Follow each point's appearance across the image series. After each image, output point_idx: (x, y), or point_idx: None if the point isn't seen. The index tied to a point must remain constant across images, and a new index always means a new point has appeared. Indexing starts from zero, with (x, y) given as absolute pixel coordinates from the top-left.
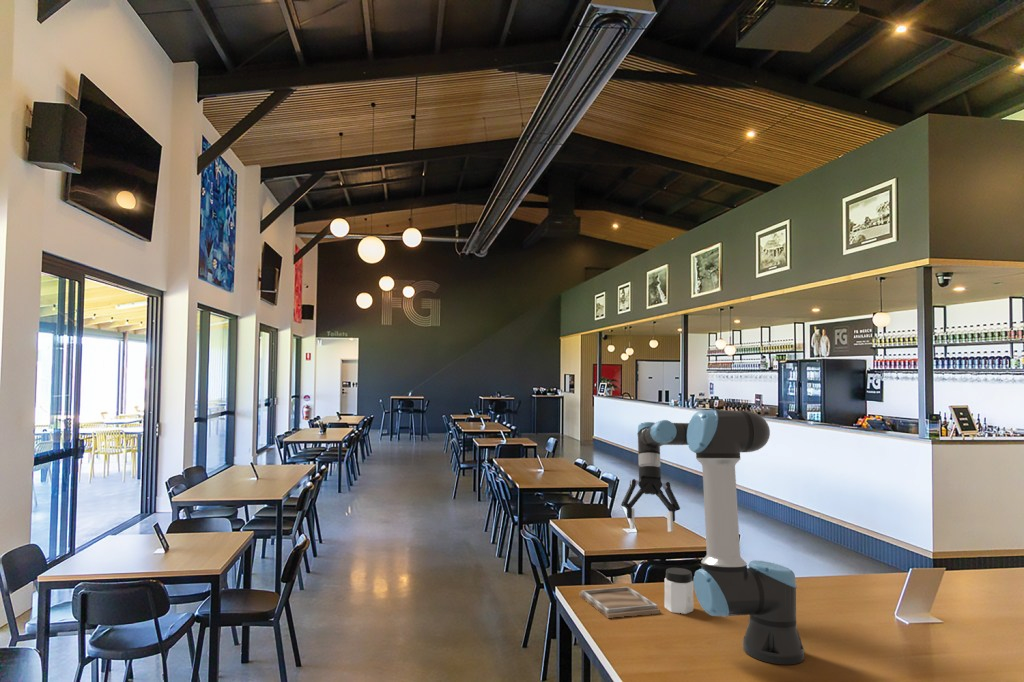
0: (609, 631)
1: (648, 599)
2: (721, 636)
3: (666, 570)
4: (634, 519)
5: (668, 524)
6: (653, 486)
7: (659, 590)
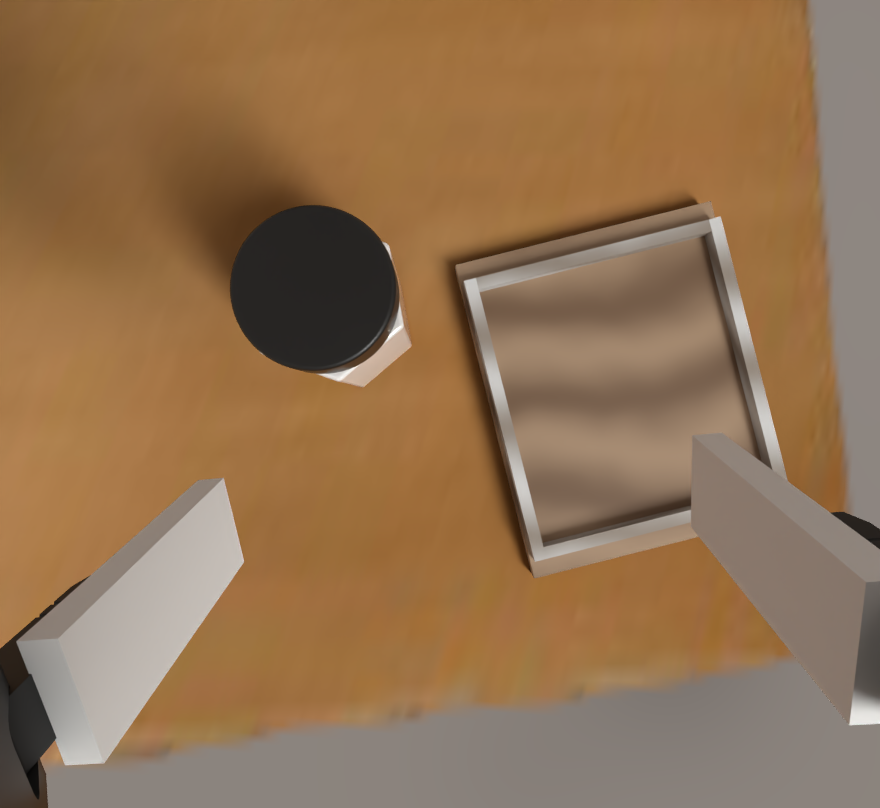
0: (727, 68)
1: (484, 359)
2: (279, 13)
3: (391, 302)
4: (749, 481)
5: (200, 588)
6: None
7: (358, 596)
